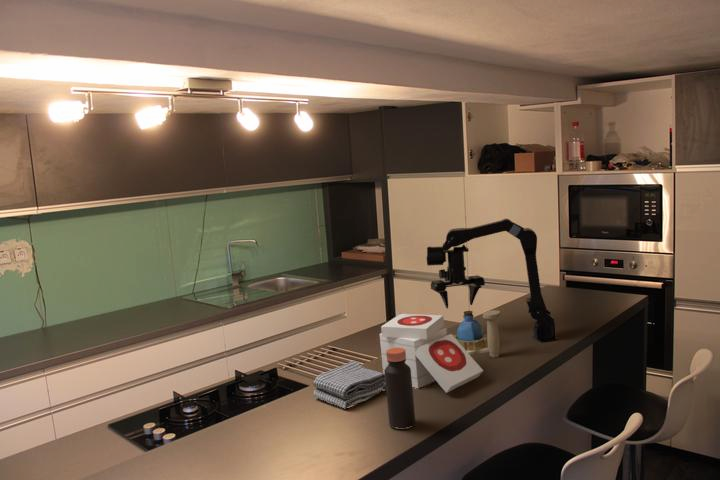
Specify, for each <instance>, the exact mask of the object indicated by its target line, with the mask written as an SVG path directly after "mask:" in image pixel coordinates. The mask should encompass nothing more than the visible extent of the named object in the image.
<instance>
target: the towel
mask: <svg viewBox="0 0 720 480" xmlns="http://www.w3.org/2000/svg"><path fill="white" fill-rule="evenodd" d="M312 386H313V387H314V388H315V389H314V390H313V396H314V397H315V398H317V399H318V398H319V400H321V401H323V400H324V401H323V402H325V401H326V402H325V403H328V404H331V405H333V404H334V406H336V405H337V406H336V407H338V406H339V407H338V408H341V407H342V408H341V409H343V408H344V410H347V409H346V408H347V407H349V406H351V405H355V404H358V403H360V404H361V402H362V403H364V402H366V401H367V400H369V399H371V398H373V397H374V396H373V395H375V394H377V393H378V392H380V391H382V389H386V383H385V374H384V373H383V372H381V371H377V370H373V369H371V368H370V369H369V368H366V367H365V366H363V365H362V364H361V363H360V362H358V361H356V360H355V359H354V360H350V361H349V362H347V363H344V364H342V365H341V366H337V367H336V368H332V369H330V370H328V371H325V372H323V373H320V374H318V375H317V376H315V379H314V380H313V382H312ZM377 395H378V394H377ZM372 396H373V397H372ZM375 396H376V395H375ZM363 401H364V402H363ZM358 405H359V404H358Z"/></svg>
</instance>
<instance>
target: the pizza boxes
mask: <svg viewBox="0 0 720 480" xmlns="http://www.w3.org/2000/svg"><path fill="white" fill-rule="evenodd" d="M444 319H445V318H444V315H442V314H416V313H415V314H413V313H411V314H410V313H400V314H398V315H396V316H395V317H393V318H391V320H388V322H386V323H385V324H382V326H380V330H381V333H379V342H380V353H381V354H380V355H381V365H382V373H384V374H385V372H384V371H385V368H386V367H387V366H388V365H389V363H388V362H387V354H386V351H387V350H388V349H391V348H403V349H405V352H406V361H405V363H406V364H407V365H408V366H409V367H410V369H411V378H412V387H415V388H414V389H416V388H420V387H422V388H423V386H424V387H426V386H428V385H430V384H432V383H431V382H433V383H434V381H435V382H437V384H438V385H439V386H440V387H441V388H442V390H443V391H444V392H445V394H446V393H449V392H451V391H453V390H455V389H457V388H459V387H461V386H463V385H465V384H467V383H469V382H471V381H473V380H475V379H477V378H479V377H480V376H481V374H482V373H483V372H484V369H482V367H481V366H480V365H479V364H478V363H477V362H476V360H475V359H474V357H472V355H469V354H468V353H467V351H466V350H465V349H464V348H463V347H462V346H461V345H460V343H459V342H458V341H457V340H456V339H455V338H454V337H453V335H454V334H452V333H450V334H448V329H447V328H446V327H444V326H445V323H444V322H445V321H444ZM429 383H430V384H429ZM427 384H428V385H427ZM425 385H426V386H425ZM420 389H421V388H420Z"/></svg>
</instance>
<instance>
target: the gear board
mask: <svg viewBox="0 0 720 480" xmlns="http://www.w3.org/2000/svg"><path fill="white" fill-rule="evenodd" d="M452 335H453V337H454V338H455V339H456V340H457V341H458V342H459V343H460V345H461V346H462V347H463V348H464V349H465V350H466V351H467V353H468V354H469V355H470V356H472V355H478V354H485V353H489V350H488V342H487V333H482V338H481V339H480V340H475V341H461V340H458V334H457V333H456V334H452Z"/></svg>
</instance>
